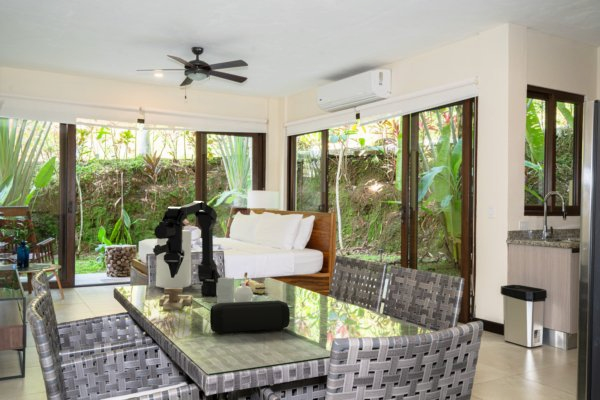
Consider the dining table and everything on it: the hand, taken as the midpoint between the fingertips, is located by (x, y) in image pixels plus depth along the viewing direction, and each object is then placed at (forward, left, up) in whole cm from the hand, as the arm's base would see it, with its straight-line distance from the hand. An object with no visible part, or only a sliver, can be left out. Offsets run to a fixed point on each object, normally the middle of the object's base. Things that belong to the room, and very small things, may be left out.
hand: (174, 276), depth 199 cm
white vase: (-28, +11, -13) cm, 33 cm away
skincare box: (-21, 0, -13) cm, 25 cm away
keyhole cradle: (0, -4, -13) cm, 13 cm away
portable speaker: (-30, +39, -13) cm, 51 cm away
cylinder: (+7, -54, -13) cm, 56 cm away
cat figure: (-33, -40, -13) cm, 54 cm away
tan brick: (0, 0, -12) cm, 13 cm away
